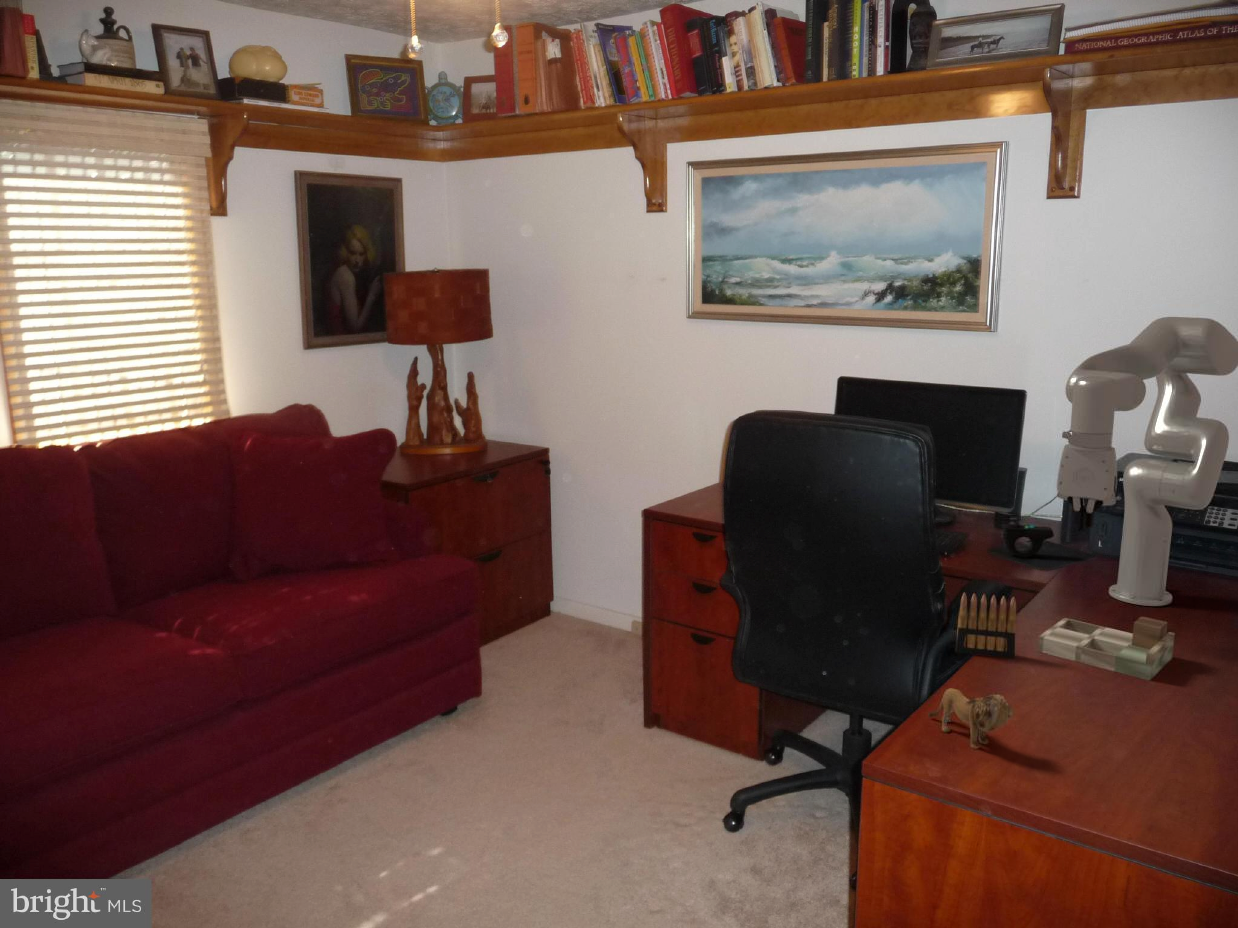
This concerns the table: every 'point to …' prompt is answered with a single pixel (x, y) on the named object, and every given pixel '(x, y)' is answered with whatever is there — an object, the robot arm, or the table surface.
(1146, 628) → the walnut block
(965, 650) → the ammunition clip
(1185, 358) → the robot arm
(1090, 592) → the table surface
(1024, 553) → the controller
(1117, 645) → the divided compartment tray
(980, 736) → the lion figurine
